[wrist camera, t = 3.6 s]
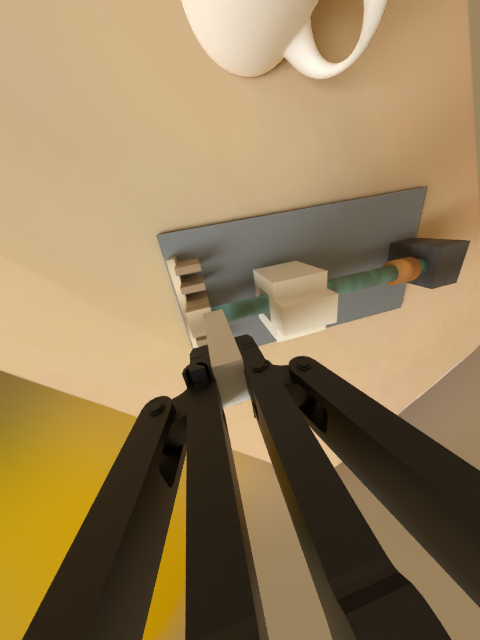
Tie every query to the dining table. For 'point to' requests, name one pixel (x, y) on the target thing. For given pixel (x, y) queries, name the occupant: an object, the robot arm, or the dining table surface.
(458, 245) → the comb rail
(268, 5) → the mug
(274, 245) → the mat
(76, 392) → the dining table surface
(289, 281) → the sleeve
